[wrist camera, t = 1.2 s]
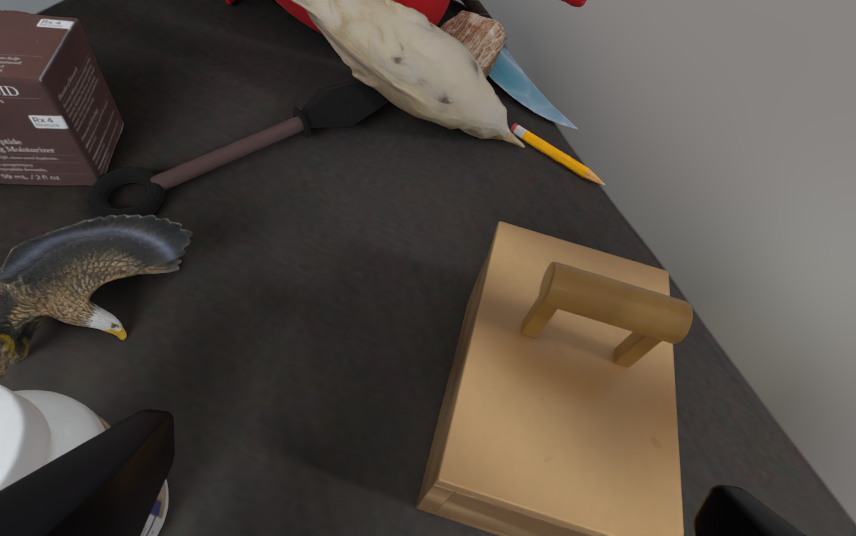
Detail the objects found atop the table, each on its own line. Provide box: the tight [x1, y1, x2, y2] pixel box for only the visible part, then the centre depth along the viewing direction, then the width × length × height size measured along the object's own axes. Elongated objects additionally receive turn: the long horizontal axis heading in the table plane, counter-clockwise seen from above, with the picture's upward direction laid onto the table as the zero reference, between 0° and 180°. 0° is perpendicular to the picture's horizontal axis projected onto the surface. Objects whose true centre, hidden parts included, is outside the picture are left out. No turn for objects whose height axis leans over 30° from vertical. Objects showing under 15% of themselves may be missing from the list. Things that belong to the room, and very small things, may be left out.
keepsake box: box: [416, 244, 592, 536], centre depth 22 cm, size 12×9×5 cm
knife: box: [461, 0, 578, 129], centre depth 42 cm, size 22×2×5 cm
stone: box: [440, 10, 505, 78], centre depth 39 cm, size 7×6×5 cm
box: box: [0, 10, 123, 186], centre depth 27 cm, size 6×6×7 cm
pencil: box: [510, 123, 606, 186], centre depth 36 cm, size 1×9×1 cm
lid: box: [435, 221, 693, 536], centre depth 18 cm, size 12×9×5 cm
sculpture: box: [292, 0, 525, 148], centre depth 31 cm, size 6×25×5 cm
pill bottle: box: [0, 385, 169, 536], centre depth 15 cm, size 5×5×10 cm
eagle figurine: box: [0, 214, 193, 379], centre depth 22 cm, size 8×7×9 cm
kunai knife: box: [88, 80, 389, 218], centre depth 32 cm, size 4×27×3 cm, turn 129°
